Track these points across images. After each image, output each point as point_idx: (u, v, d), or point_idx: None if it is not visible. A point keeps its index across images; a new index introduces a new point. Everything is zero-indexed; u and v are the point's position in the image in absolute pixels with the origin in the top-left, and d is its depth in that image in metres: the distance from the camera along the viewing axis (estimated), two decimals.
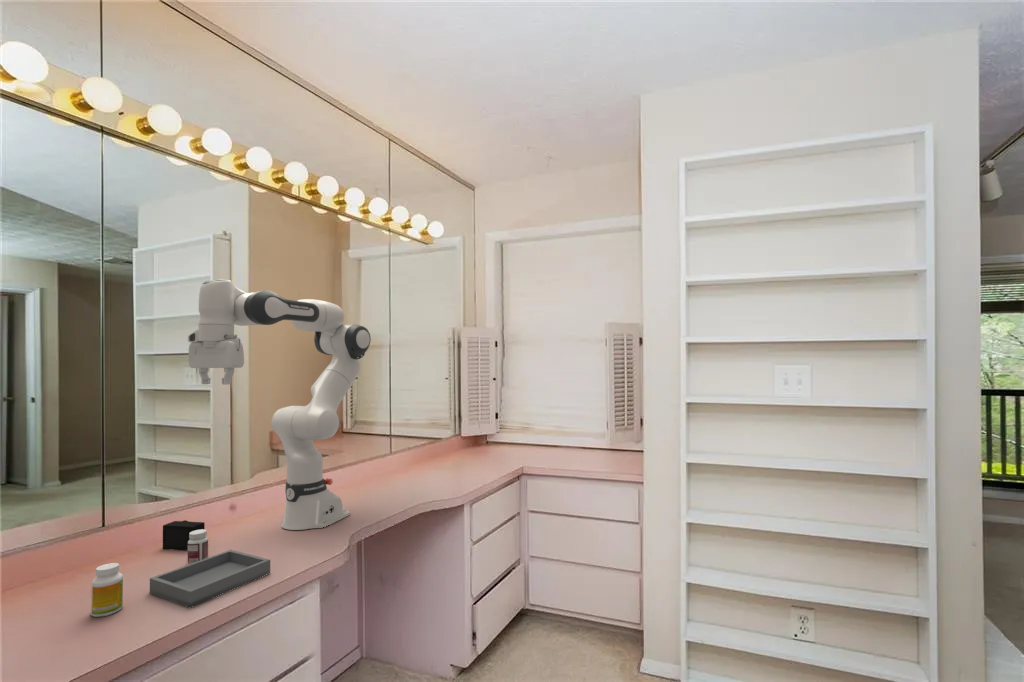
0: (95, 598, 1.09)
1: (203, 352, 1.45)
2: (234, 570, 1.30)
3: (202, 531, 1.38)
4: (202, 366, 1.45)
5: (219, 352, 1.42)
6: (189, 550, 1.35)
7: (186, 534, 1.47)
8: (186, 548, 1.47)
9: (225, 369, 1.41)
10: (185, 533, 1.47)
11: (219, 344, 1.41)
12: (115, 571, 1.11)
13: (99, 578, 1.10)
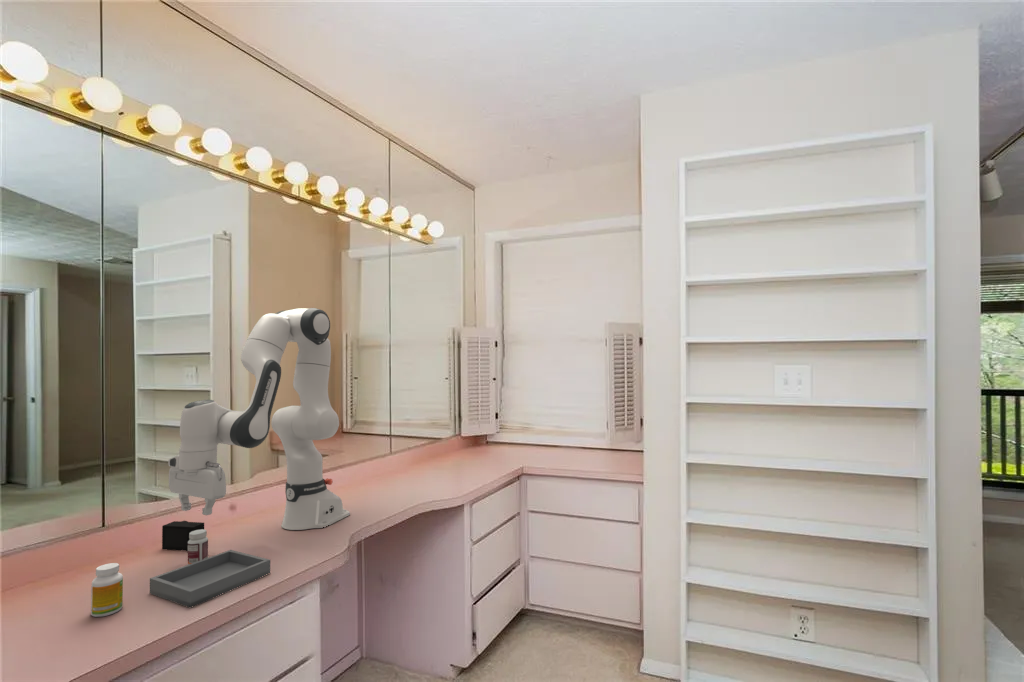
0: (95, 598, 1.09)
1: (184, 478, 1.38)
2: (234, 570, 1.30)
3: (202, 531, 1.38)
4: (182, 493, 1.38)
5: (200, 481, 1.35)
6: (189, 550, 1.35)
7: (186, 535, 1.47)
8: (186, 548, 1.47)
9: (206, 499, 1.34)
10: (185, 533, 1.47)
11: (200, 473, 1.35)
12: (115, 571, 1.11)
13: (99, 578, 1.10)
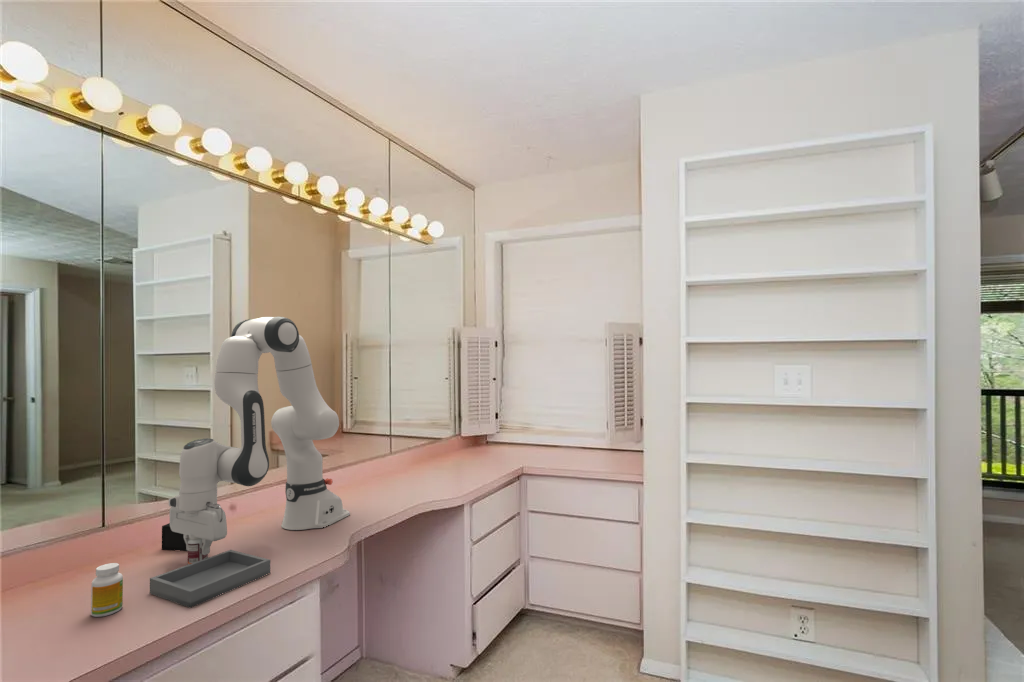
0: (95, 598, 1.09)
1: (185, 518, 1.38)
2: (234, 570, 1.30)
3: None
4: (183, 533, 1.38)
5: (201, 522, 1.35)
6: (189, 550, 1.35)
7: None
8: None
9: (203, 539, 1.35)
10: None
11: (201, 514, 1.34)
12: (115, 571, 1.11)
13: (99, 578, 1.10)
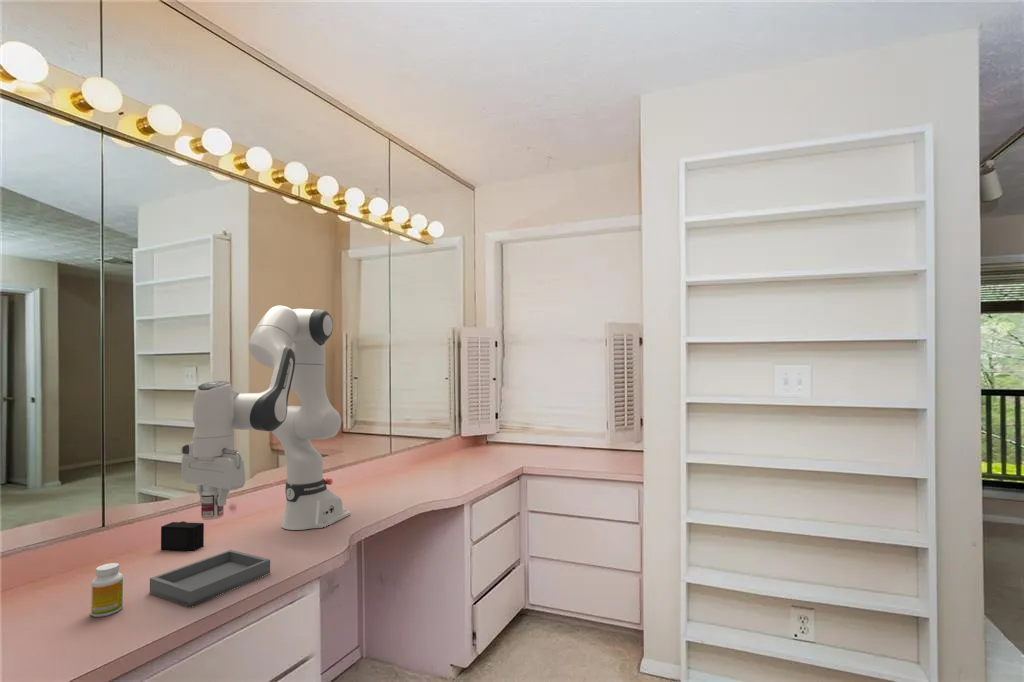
0: (95, 598, 1.09)
1: (198, 467, 1.26)
2: (234, 570, 1.30)
3: None
4: (197, 483, 1.26)
5: (216, 469, 1.23)
6: (203, 502, 1.23)
7: (185, 535, 1.46)
8: (186, 549, 1.46)
9: (219, 489, 1.23)
10: (184, 534, 1.47)
11: (216, 461, 1.22)
12: (115, 571, 1.11)
13: (99, 578, 1.10)
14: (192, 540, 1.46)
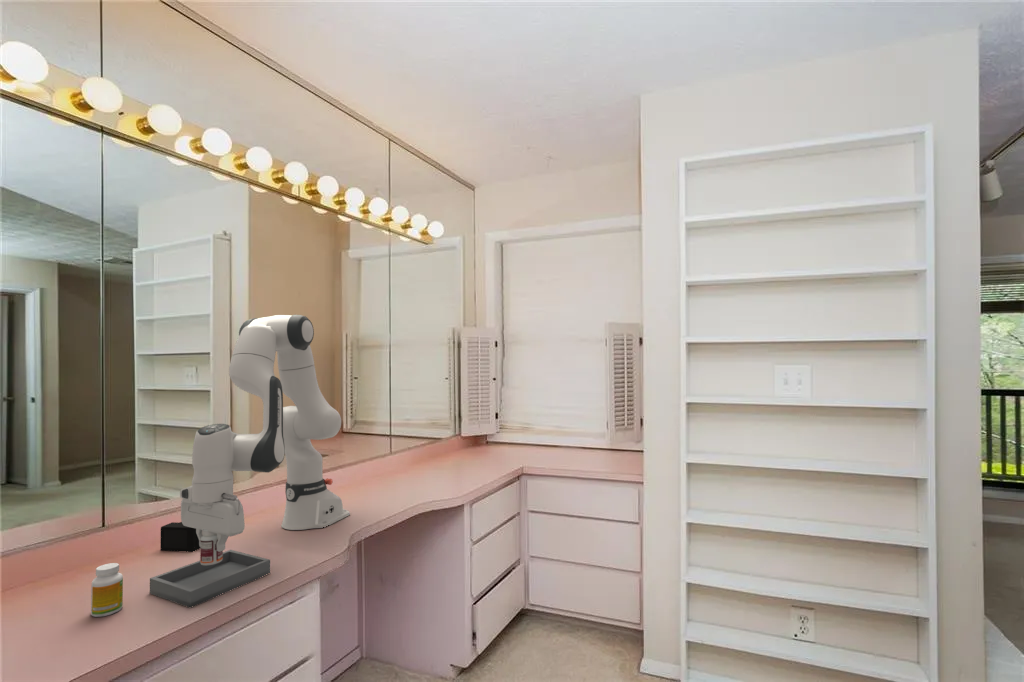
0: (95, 598, 1.09)
1: (197, 511, 1.26)
2: (234, 570, 1.30)
3: None
4: (196, 527, 1.25)
5: (216, 515, 1.22)
6: (202, 547, 1.23)
7: (185, 536, 1.46)
8: (185, 549, 1.46)
9: (218, 534, 1.22)
10: (184, 534, 1.46)
11: (216, 506, 1.22)
12: (115, 571, 1.11)
13: (99, 578, 1.10)
14: (192, 540, 1.46)
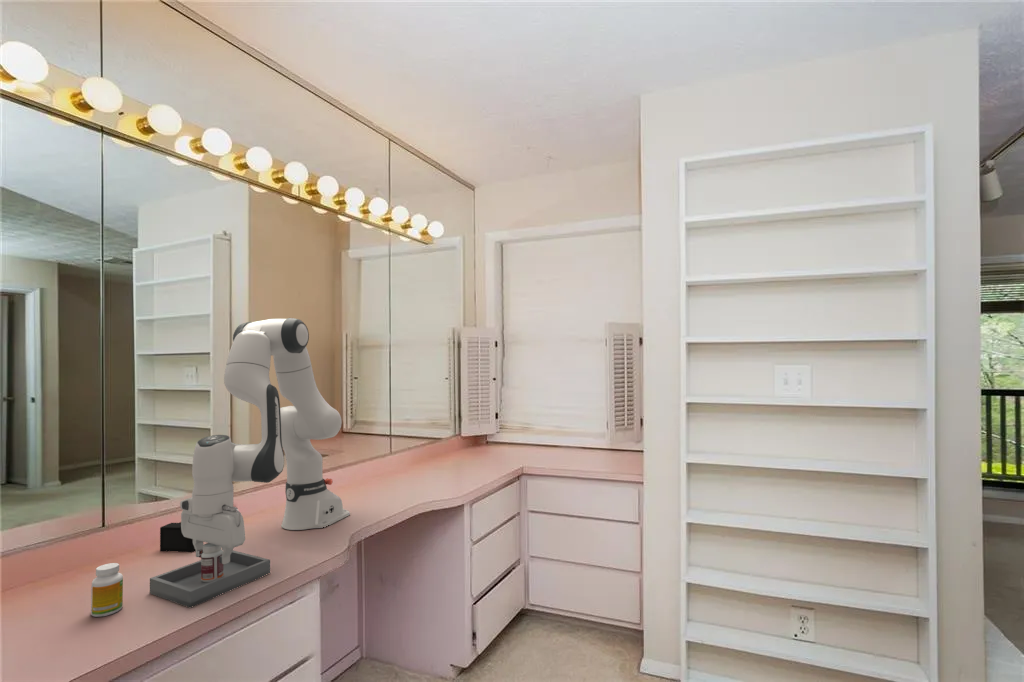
0: (96, 598, 1.09)
1: (198, 522, 1.25)
2: (234, 570, 1.30)
3: None
4: (197, 538, 1.25)
5: (216, 527, 1.22)
6: (203, 564, 1.23)
7: None
8: (185, 549, 1.46)
9: (223, 547, 1.22)
10: None
11: (216, 518, 1.22)
12: (115, 571, 1.11)
13: (99, 578, 1.10)
14: (192, 540, 1.46)
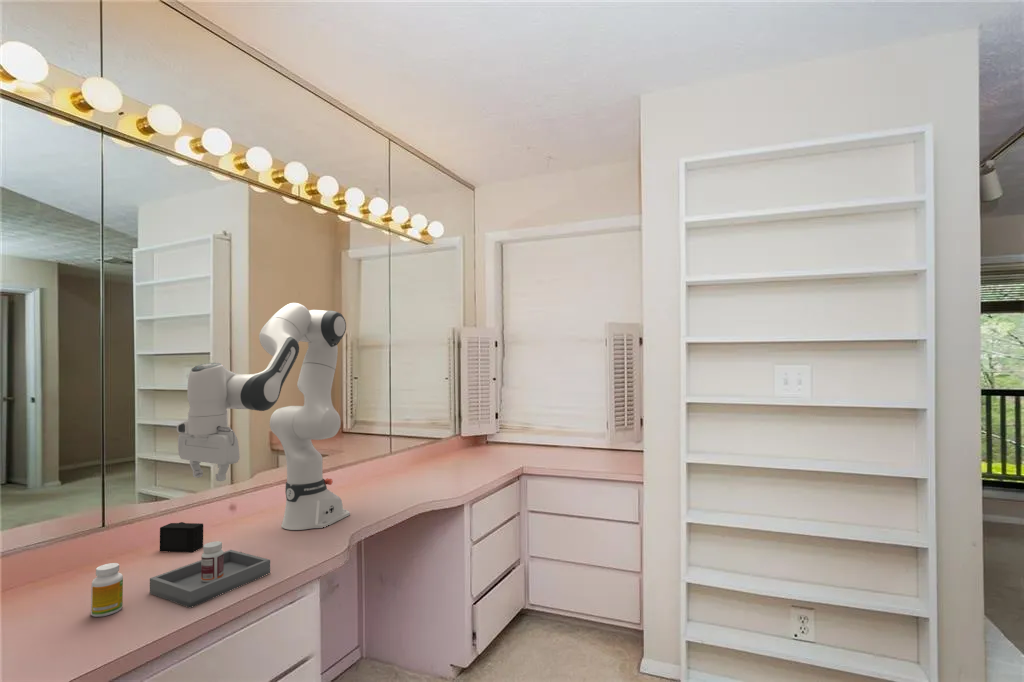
0: (96, 598, 1.09)
1: (194, 444, 1.33)
2: (234, 570, 1.30)
3: (217, 543, 1.25)
4: (193, 459, 1.33)
5: (212, 446, 1.30)
6: (203, 564, 1.23)
7: (185, 536, 1.46)
8: (185, 550, 1.46)
9: (219, 465, 1.29)
10: (184, 535, 1.46)
11: (211, 438, 1.29)
12: (115, 571, 1.11)
13: (99, 578, 1.10)
14: (192, 541, 1.46)
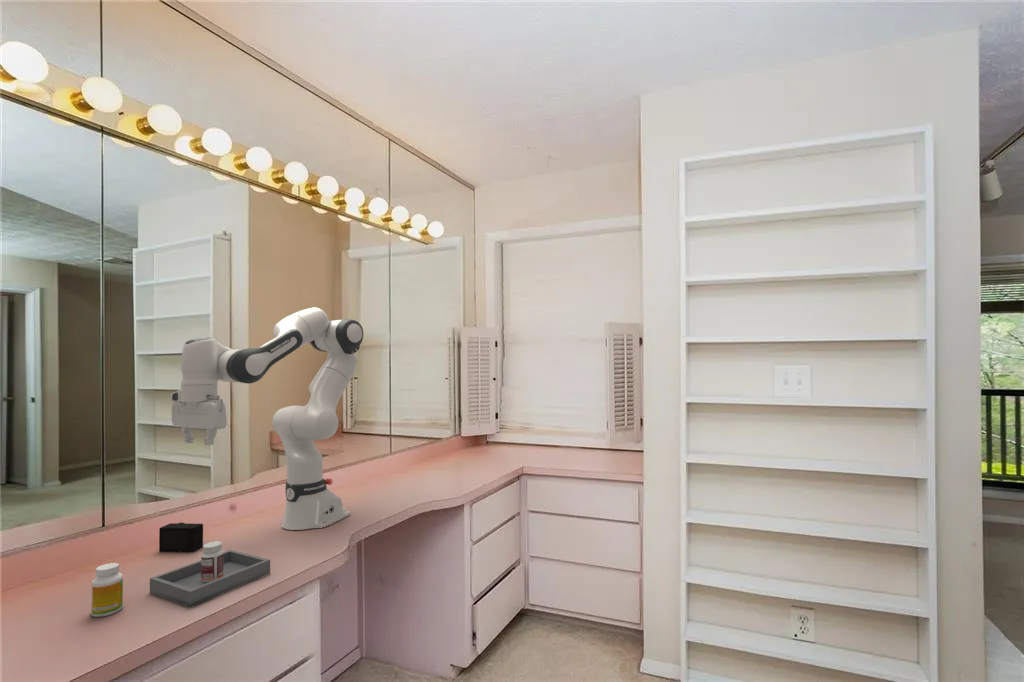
0: (95, 598, 1.09)
1: (186, 412, 1.44)
2: (234, 570, 1.30)
3: (217, 543, 1.25)
4: (185, 426, 1.44)
5: (201, 413, 1.41)
6: (203, 564, 1.23)
7: (185, 536, 1.46)
8: (185, 550, 1.45)
9: (207, 430, 1.40)
10: (184, 535, 1.46)
11: (201, 405, 1.40)
12: (115, 571, 1.11)
13: (99, 578, 1.10)
14: (192, 541, 1.45)
